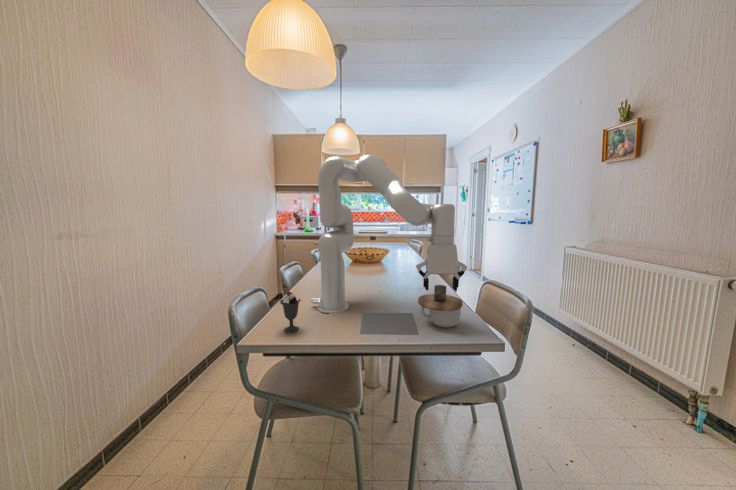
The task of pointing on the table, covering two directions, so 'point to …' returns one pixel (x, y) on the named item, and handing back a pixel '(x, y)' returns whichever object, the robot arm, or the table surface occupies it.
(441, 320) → the teacup
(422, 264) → the robot arm
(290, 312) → the sundae
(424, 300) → the lid
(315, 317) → the table surface
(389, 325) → the mat
